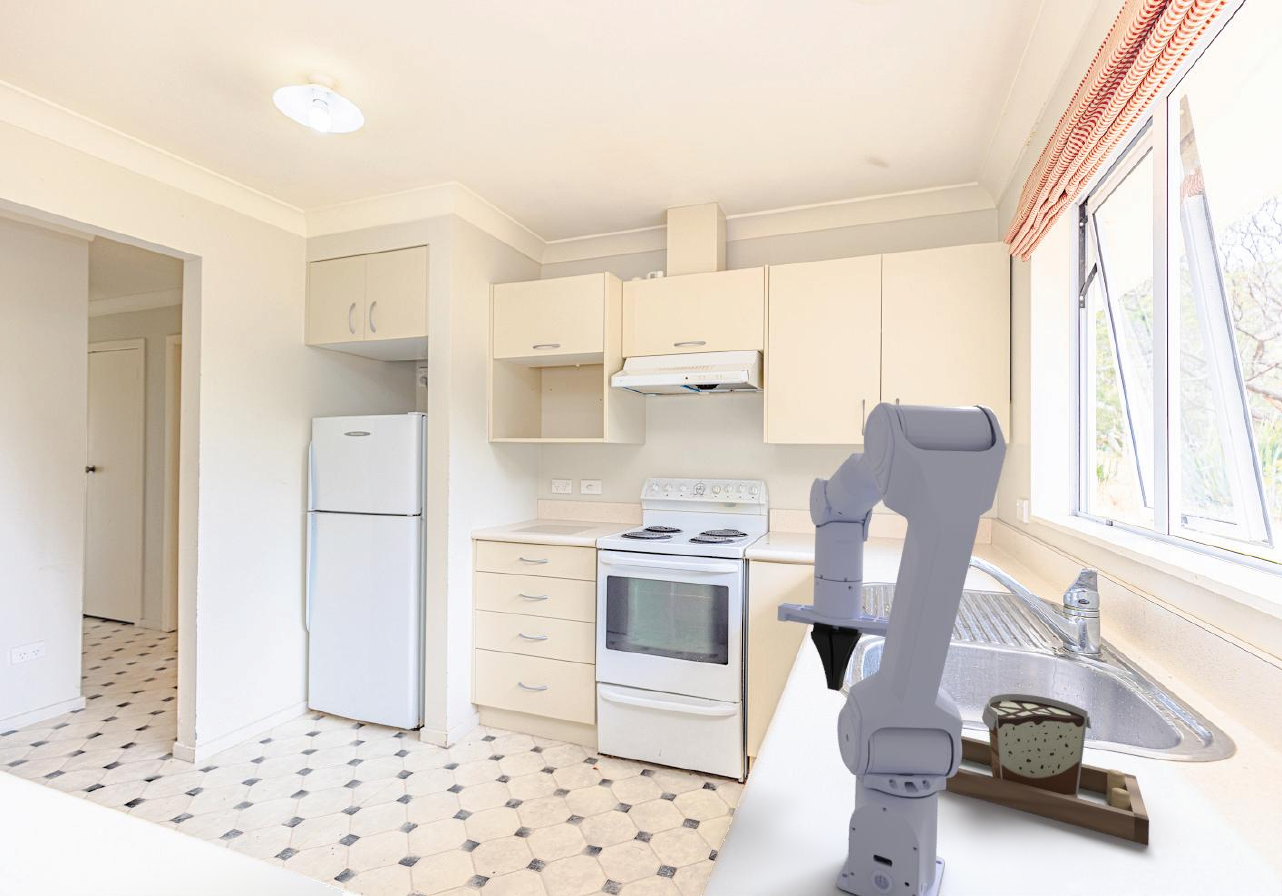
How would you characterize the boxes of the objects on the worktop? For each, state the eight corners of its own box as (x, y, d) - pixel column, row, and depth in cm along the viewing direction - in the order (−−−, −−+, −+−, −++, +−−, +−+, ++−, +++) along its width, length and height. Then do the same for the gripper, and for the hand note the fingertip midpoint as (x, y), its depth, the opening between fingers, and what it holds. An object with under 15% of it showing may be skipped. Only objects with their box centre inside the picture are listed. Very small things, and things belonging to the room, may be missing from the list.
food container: (1051, 770, 82) (1053, 691, 82) (1089, 796, 76) (1091, 711, 76) (958, 772, 81) (960, 692, 81) (990, 799, 74) (992, 712, 75)
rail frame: (1148, 844, 66) (1149, 810, 66) (933, 786, 77) (934, 757, 77) (1135, 797, 76) (1135, 767, 76) (945, 751, 86) (946, 724, 86)
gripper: (906, 579, 79) (903, 690, 79) (791, 565, 87) (788, 666, 87) (895, 589, 73) (892, 709, 73) (773, 573, 81) (770, 682, 81)
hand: (835, 687), depth 80 cm, fingers closed
